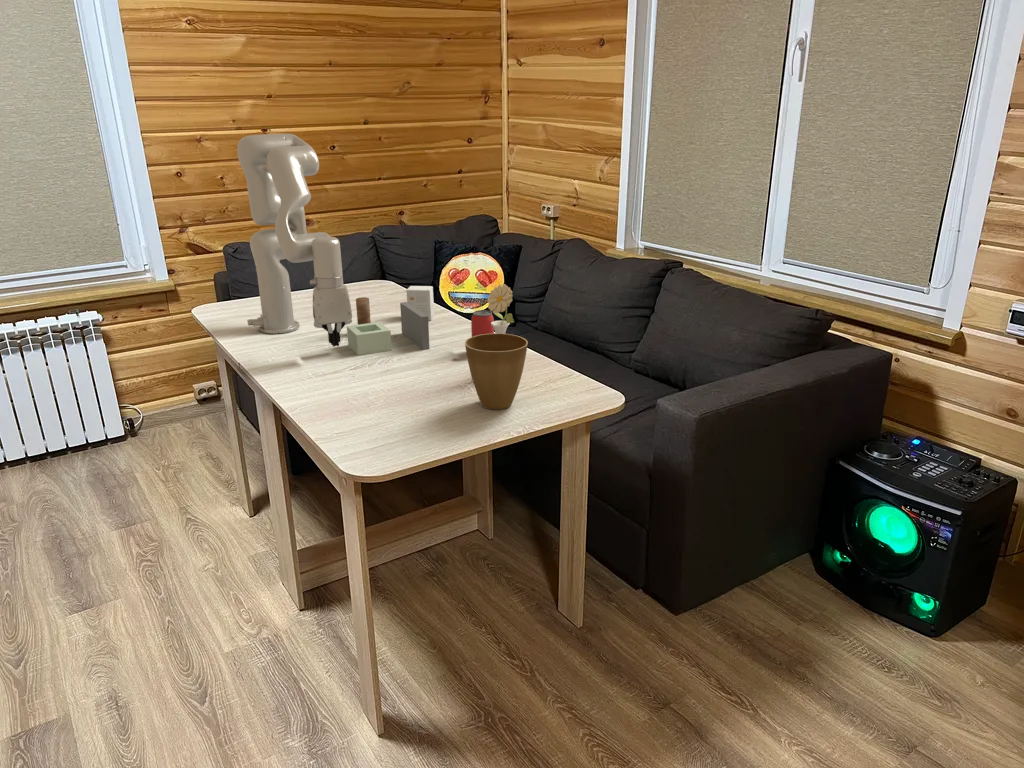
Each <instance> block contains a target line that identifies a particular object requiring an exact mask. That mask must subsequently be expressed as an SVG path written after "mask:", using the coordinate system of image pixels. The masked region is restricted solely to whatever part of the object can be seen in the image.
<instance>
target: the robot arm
mask: <svg viewBox="0 0 1024 768" xmlns="http://www.w3.org/2000/svg"><path fill="white" fill-rule="evenodd" d="M236 150H237V151H236V153H237V158H238V162H239V164H240V166H241V169H242V172H243V173H244V174H243V175H244V177H245V181H246V188H247V193H248V194H247V195H248V200H249V203H248V204H249V208H250V209H249V210H250V215H251V219H252V220H253V222H254V223H255V224H256V225H259V226H274V227H275V228H270V229H269V228H268V229H263V230H259V231H255V233H253V234H252V235H251V236H250V238H249V247H250V250H251V251H250V252H251V253H252V258H253V261H254V265H255V270H256V275H257V283H258V290H259V291H258V292H259V299H260V307H261V314H260V315H259V317H257V318H255V319H254V318H250V319H247V320H246V321H247V325H248V326H249V327H251V326H253V327H258V330H259V332H261V333H264V334H272V335H273V334H275V335H276V334H277V335H278V333H279V334H286V333H291V332H294V331H296V330H298V329H299V328H300V322H299V321H297V320H295V319H294V318H295V316H294V310H293V309H294V308H293V302H292V301H293V299H292V290H291V283H290V275H289V272H288V270H287V268H286V267H285V266H284V265H283V264H282V263H281V262H280V261H282V260H287V261H288V262H290V263H292V264H296V263H305V262H311V261H313V271H314V276H313V277H314V278H312V279H310V280H309V285H311V286H314V287H313V290H312V316H313V319H314V321H313V327H314V328H315V329H324V330H325V331H326V332H327V336H328V344H331V345H332V347H340V343H341V332H342V330H343V328H344V327H345V326H346V325H347V326H348V325H350V324H352V323H353V320H352V319H353V313H352V312H353V311H352V305H351V299H350V294H349V290H348V286H347V285H345V284H344V275H343V265H342V254H341V252H342V251H341V242H340V239H338V238H337V237H335V236H331V235H330V234H329V233H327V232H323V231H320V232H319V231H318V232H309V233H308V231H307V222H306V214H305V206H306V205H307V204H308V203H309V202H310V200H311V199H312V195H311V192H310V190H309V186H308V184H307V181H306V178H305V177H310V176H315V175H317V174H318V172H319V170H320V161H319V157H318V155H317V153H316V151H315V150H314V148H313V147H312V146H311V145H310V144H309V143H307V142H306V141H304V140H303V139H302V138H301V137H299V136H297V135H296V134H293V133H265V134H264V133H263V134H261V133H260V134H253V135H252V134H250V135H247V136H244V137H242V138H240V139H239V141H238V143H237V147H236ZM332 324H333V325H334V328H333V326H332Z"/></svg>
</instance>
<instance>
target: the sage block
mask: <svg viewBox="0 0 1024 768" xmlns="http://www.w3.org/2000/svg"><path fill="white" fill-rule="evenodd" d="M346 333H347V334H346V335H347V343H348V344H347V346H348V347H349V348H350V349H351V350H352V351H353V353H355V354H357V355H356V356H363V355H370V354H376V353H377V354H378V353H383V352H387V351H388V352H389V351H392V349H393V348H392V334H391V330H390V329H389V328H388V327H387V326H386V325H384V324H383V323H382V322H381V321H375V322H374V321H373V322H371V323H367V324H360V325H358V324H352V325H347V326H346Z"/></svg>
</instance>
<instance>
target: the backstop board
mask: <svg viewBox="0 0 1024 768" xmlns="http://www.w3.org/2000/svg"><path fill="white" fill-rule="evenodd" d="M399 305H400V320H401V321H400V322H401V324H400V325H401V334H402V335H403V336H404V337H406V338H407V340H409V341H410V342H412V343H413V344H415V345H416V346H417V347H419V348H420V349H421V350H423V351H424V350H425V351H427V350H430V327H429V326H430V325H429V320H428V316H427V315H425V314H424V313H422V312H421V311H419V310H418V309H416V308H415V307H413V306H412V305H410V304H409V303H407V301H402V302H400V303H399Z"/></svg>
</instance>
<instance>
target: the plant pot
mask: <svg viewBox="0 0 1024 768" xmlns="http://www.w3.org/2000/svg"><path fill="white" fill-rule="evenodd" d="M528 345H529V342H528V340H527V339H526V338H524V337H522V336H519V335H515V334H512V333H511V334H509V333H505V334H499V333H495V332H494V334H482V335H477V336H473V337H472V336H471V337H468V338H467V339H466V340H465V341H464V346H465V352H466V357H467V363H468V368H469V371H470V376H471V379H472V383H473V385H474V389H475V391H476V392H475V393H476V394H477V397H478V399H479V402H480V404H481V406H482V407H483V408H485V409H487V410H505V409H508V408H510V407H511V406H512V404H513V402H514V399H515V398H516V397H515V396H516V394H517V391H518V389H519V386H520V383H521V379H522V375H523V370H524V367H525V362H526V356H527V350H528Z"/></svg>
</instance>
